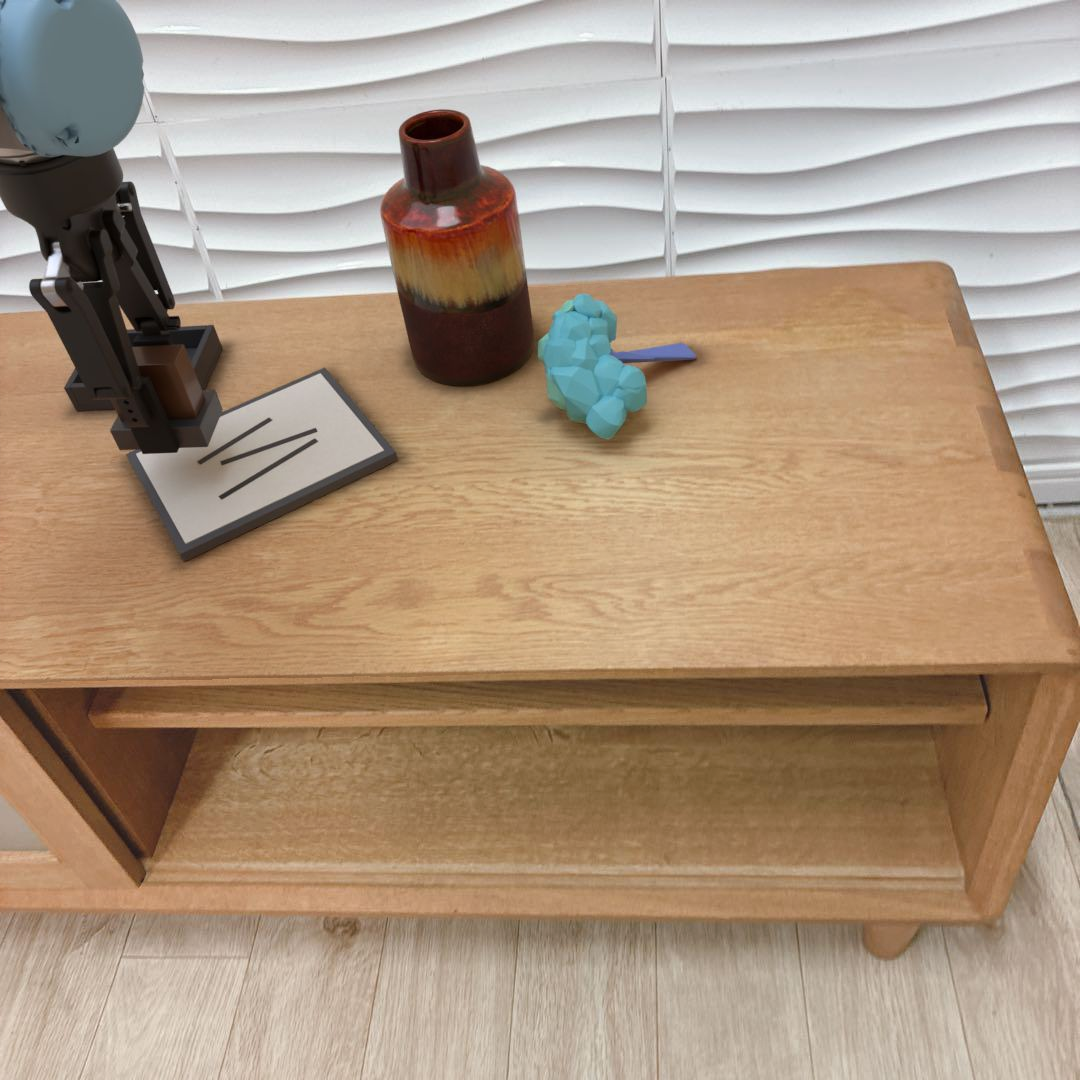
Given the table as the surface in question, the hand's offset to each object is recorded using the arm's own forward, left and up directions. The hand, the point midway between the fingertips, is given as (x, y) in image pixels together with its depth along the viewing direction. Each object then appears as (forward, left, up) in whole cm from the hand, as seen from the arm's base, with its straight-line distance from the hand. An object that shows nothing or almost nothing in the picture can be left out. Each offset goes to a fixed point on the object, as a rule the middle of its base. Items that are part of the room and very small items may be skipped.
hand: (171, 427), depth 83 cm
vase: (+26, 0, -5) cm, 27 cm away
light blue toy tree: (+31, -14, -5) cm, 35 cm away
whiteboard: (+5, -2, -5) cm, 7 cm away
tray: (+1, +15, -5) cm, 16 cm away
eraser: (0, 0, 0) cm, 0 cm away
